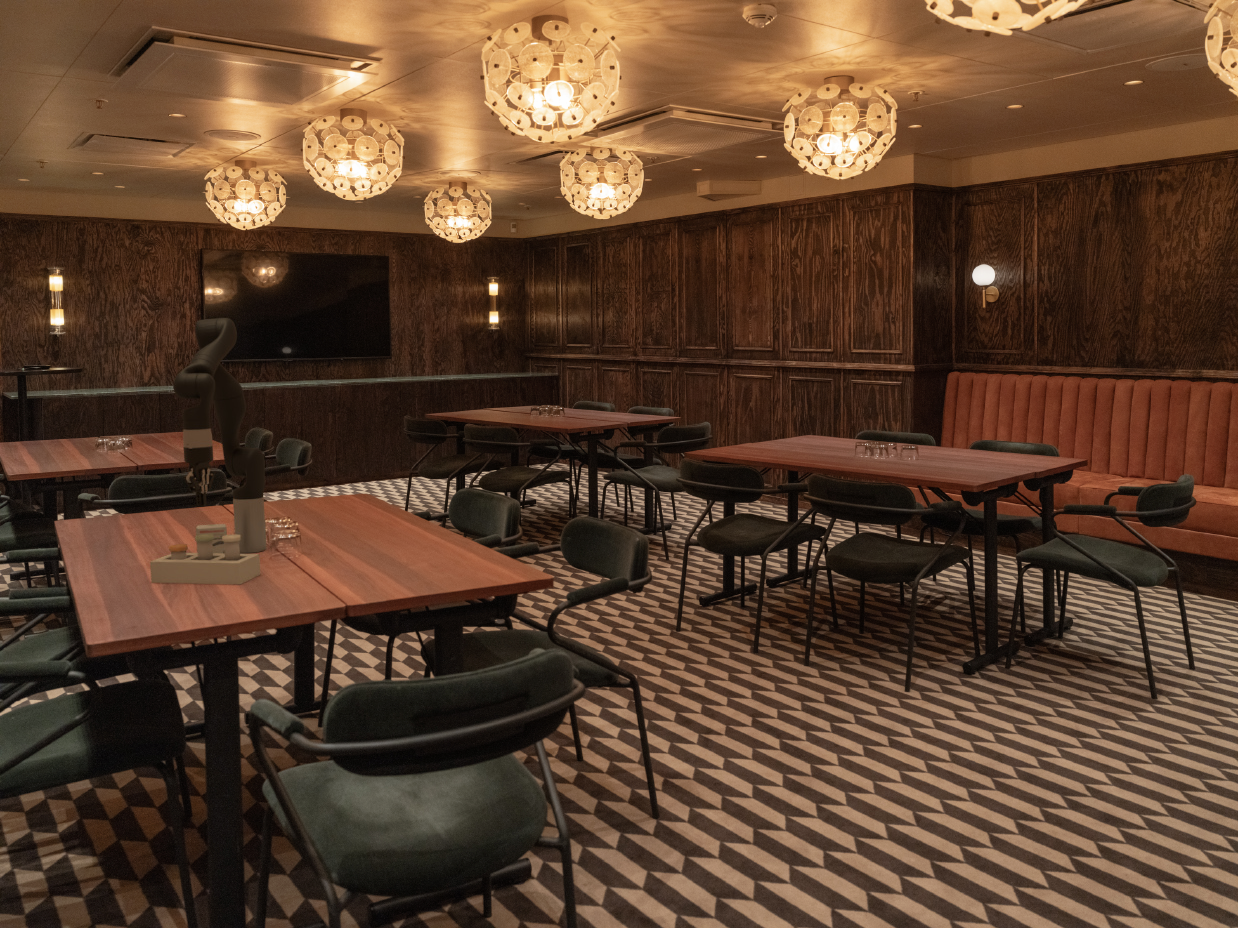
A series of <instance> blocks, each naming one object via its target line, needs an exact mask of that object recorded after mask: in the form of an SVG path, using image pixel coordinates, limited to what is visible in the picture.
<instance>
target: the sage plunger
mask: <svg viewBox="0 0 1238 928" xmlns="http://www.w3.org/2000/svg"><path fill="white" fill-rule="evenodd" d="M213 539H214V536H213V534H201V535H196V534H195V536H194V540H195V542H196V541H197V542H196V552H197V551H198V560H212V559H213V545H212V540H213Z"/></svg>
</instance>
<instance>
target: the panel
mask: <svg viewBox="0 0 1238 928" xmlns="http://www.w3.org/2000/svg"><path fill="white" fill-rule="evenodd" d="M186 555H187V558H186V559H184V560H171V553H170V554H166V555H165V556H162V557H159V558H156V559H153V560H151V561H149V565H150V582H151V584H152V583H153V584H155V583H156V584H157V583H158V584H160V583H161V584H190V585H191V584H194V585H198V584H199V585H240V586H241V585H242V584H244V583H246V582H249V581H250V580H252V579H254V578H257V577H259V576H261V562H260V561H261V560H260V553H240V560H238V561H225V554H224V553H213V559H212V560H198V553H197V552H186Z"/></svg>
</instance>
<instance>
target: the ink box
mask: <svg viewBox="0 0 1238 928" xmlns="http://www.w3.org/2000/svg"><path fill="white" fill-rule="evenodd" d="M227 531H228V530H227V524H226V523H218V524H217V523H216V524H215V523H214V524H200V525H199V524H198V525H197V526H195V536H196V535H201V534H213V536H214V539H213V540H212V545H213V553H224V542H223V541H222V536H224V535H228V533H227ZM195 542H196V543H197V541H195ZM196 553H198V551H197V550H196Z"/></svg>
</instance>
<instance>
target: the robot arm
mask: <svg viewBox="0 0 1238 928" xmlns="http://www.w3.org/2000/svg"><path fill="white" fill-rule="evenodd" d="M194 333H195V339H196V341H197V345H198V349H199V350H198V351H197V352H196V353H195V354H194V355H193V356H192V358H191V360H190V363H189V365H187V366H186V367H184V368H183V369H181V371H179V372H178V374H176V376H175V378H174V381H173V383H172V385H173V386H172V387H173V388H172V389H173V391H174V392H173V393H174V394H175V395H176V396H177V397H178V398H180V399H183V400H184V399H185V400H192V399H193V400H196V399H197V400H198V399H199V400H200V401H199V404H197V405H195V406H191V407H187V408H185V409H183V410H182V428H183V431H182V432H183V434H182V448H183V461H184V463H186V464H188V468H187V469H188V470H187V471H188V474H187V475H184V476H183V480H184V482H185V484H186V485H187V488H188V489H189V491H190V493H194V494H195V501H196V504H195V505H196V507H199V508H203V507H206V506H207V493H208V490H211V488H212V484H213V482H214V480H215V476H216V471H215V470H212V469H211V464H210V463H212V462H213V461H214V446H213V445H214V444H213V435H212V428H211V409H212V408H211V407H212V403H213V407H214V411H215V415H216V418H217V422H218V428H219V431H220V439H221V445H222V453H223V461H224V465H225V469H226V471H227V473H228V474H229V475H230V476H233V477H245V483H244V484H243V485H241V486H239V487H237V488H236V487H235V488H234V489H232V502H233V504H232V505H233V521H234V522H233V523H234V524H233V525H234V534H238V535H240V539H241V540H239V549H240V554H253V553H258V552H263V551H266V550H267V547H268V546H267V530H266V529H267V527H266V519H265V500H264V499H265V498H264V497H265V496H264V491H265V484H266V481H265V479H266V477H265V476H266V475H265V473H266V470H265V469H266V468H265V467H266V466H265V465H266V461H265V456H264V452H263V451H262V450H261V449H260V448H257V447H241V444H240V439H239V430H240V427H241V424H242V422H243V421H244V417H245V414H246V411H247V404H246V399H245V394H244V390H243V386H242V385H241V384H240V382H239V381H238V380H237V379H236V378H235V377H234V376H233V375H232V374H231V373H230V372H229V371H228V370H227V369H226V368H225V366H224V365H222V363H221V362H222V361H223V359H224V358H226V356H227V355H229V352H231V351H232V349H233V348H234V347H235V345H236V343H237V339H238V331H237V327H236V324H235V323H234V321H233V320H232V319H230V318H229V317H218V318H217V317H216V318H208V319H200V320H197V321H196V323H195V327H194Z"/></svg>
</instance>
